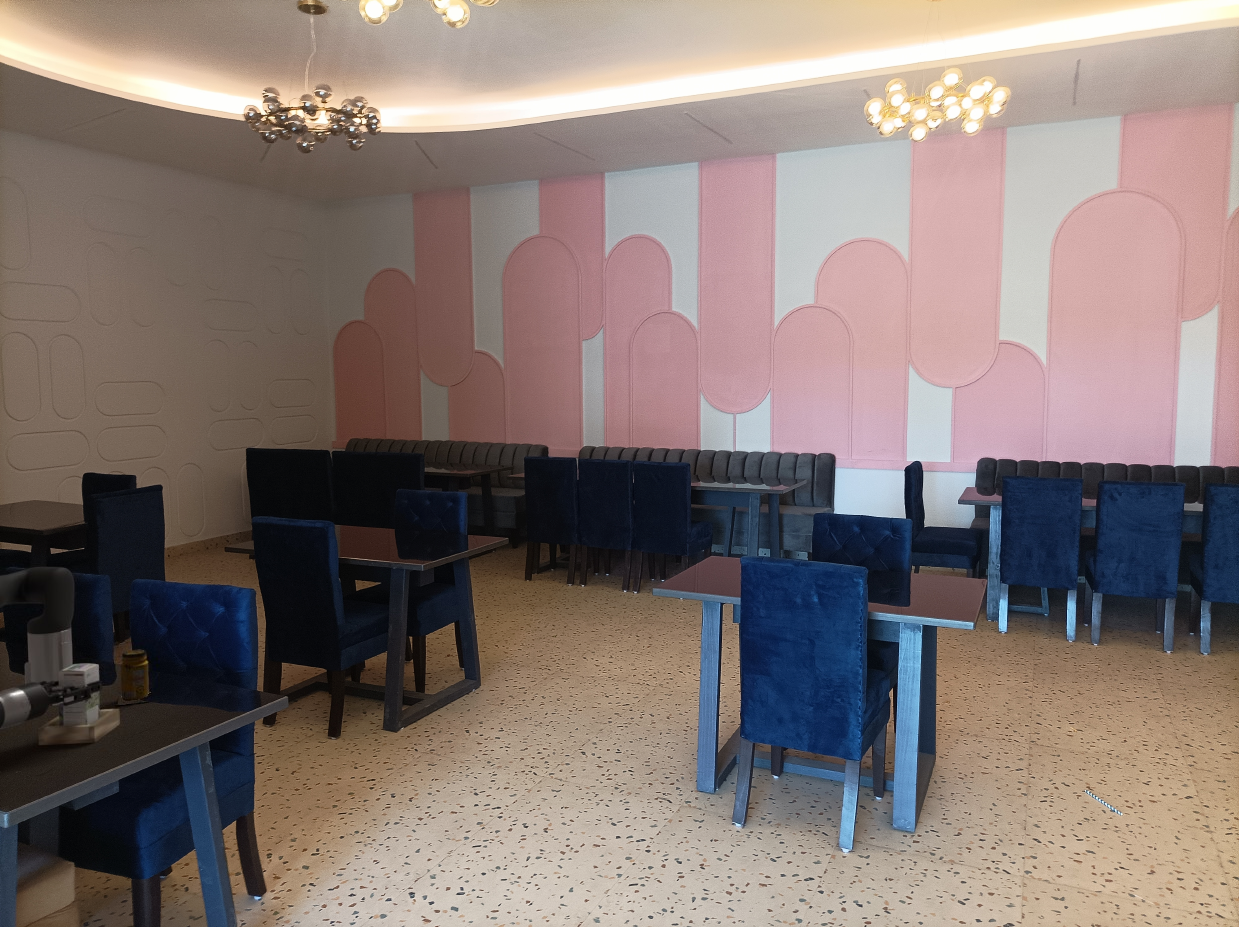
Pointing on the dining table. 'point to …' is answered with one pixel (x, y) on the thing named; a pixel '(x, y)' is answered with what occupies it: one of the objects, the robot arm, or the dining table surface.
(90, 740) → the wooden tray
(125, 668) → the condiment
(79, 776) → the dining table surface
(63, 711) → the syrup box
